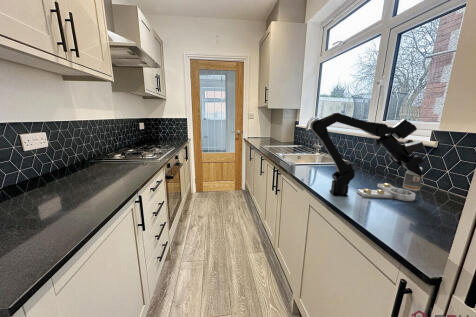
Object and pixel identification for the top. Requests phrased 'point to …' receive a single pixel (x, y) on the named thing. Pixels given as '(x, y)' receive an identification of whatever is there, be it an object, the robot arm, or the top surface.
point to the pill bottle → (412, 180)
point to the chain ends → (388, 192)
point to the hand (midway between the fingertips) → (417, 173)
